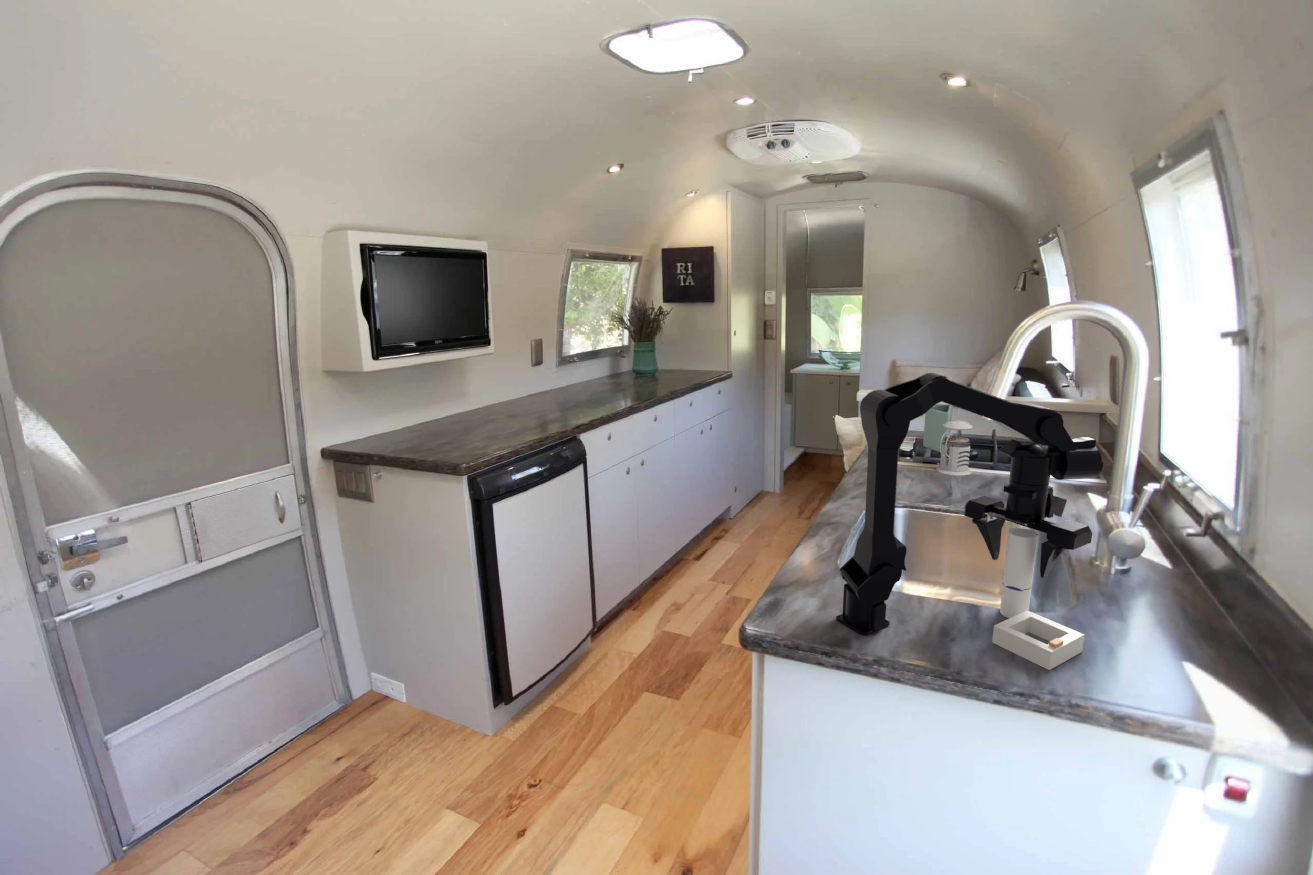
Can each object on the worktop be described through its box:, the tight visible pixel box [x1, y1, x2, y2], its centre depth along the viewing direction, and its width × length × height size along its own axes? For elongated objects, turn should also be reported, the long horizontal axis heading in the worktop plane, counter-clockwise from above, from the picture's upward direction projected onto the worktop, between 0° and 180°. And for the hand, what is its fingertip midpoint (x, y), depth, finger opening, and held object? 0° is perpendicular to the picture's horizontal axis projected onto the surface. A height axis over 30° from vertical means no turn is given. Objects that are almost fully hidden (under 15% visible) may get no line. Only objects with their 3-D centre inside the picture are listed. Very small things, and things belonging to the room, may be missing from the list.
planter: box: [922, 404, 954, 453], centre depth 219 cm, size 16×8×20 cm, turn 153°
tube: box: [999, 527, 1039, 619], centre depth 111 cm, size 4×4×15 cm
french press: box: [935, 409, 973, 476], centre depth 191 cm, size 10×12×25 cm
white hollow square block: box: [991, 610, 1085, 671], centre depth 102 cm, size 9×9×4 cm
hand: (1018, 568), depth 111 cm, fingers open, 8 cm apart
